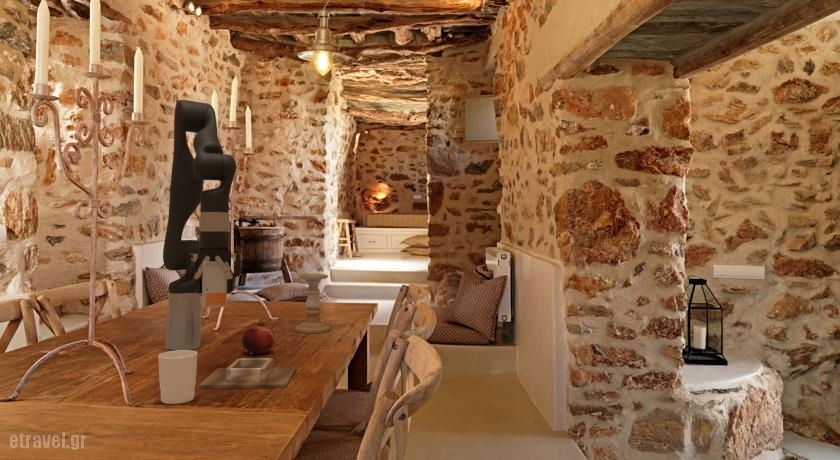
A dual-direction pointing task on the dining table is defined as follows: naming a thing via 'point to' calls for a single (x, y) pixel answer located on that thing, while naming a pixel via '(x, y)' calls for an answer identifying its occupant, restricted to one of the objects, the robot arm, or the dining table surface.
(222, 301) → the skincare box
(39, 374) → the dining table surface
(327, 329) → the candle holder
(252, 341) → the fruit
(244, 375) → the socket board
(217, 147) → the robot arm
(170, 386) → the white cup
